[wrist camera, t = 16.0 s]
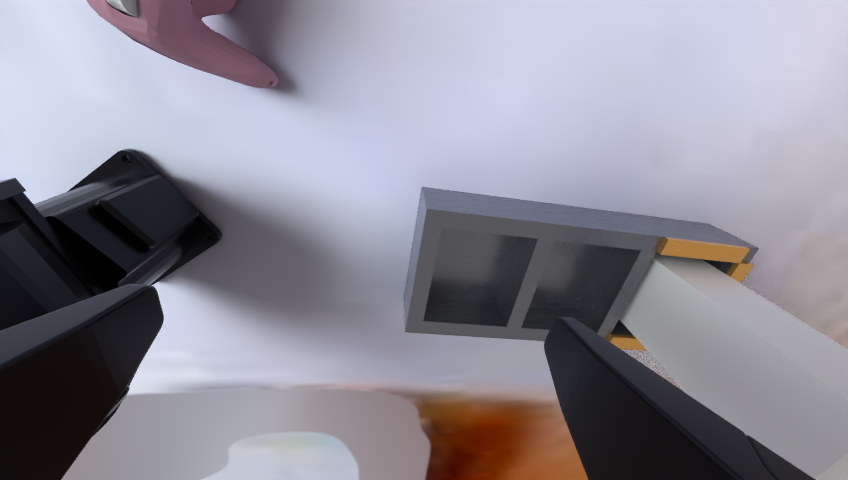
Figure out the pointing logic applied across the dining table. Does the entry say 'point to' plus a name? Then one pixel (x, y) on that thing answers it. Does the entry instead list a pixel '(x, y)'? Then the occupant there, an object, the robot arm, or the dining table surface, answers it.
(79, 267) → the robot arm
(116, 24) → the video game controller
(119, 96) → the dining table surface
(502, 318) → the rack
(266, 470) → the dining table surface
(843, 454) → the light grey block
